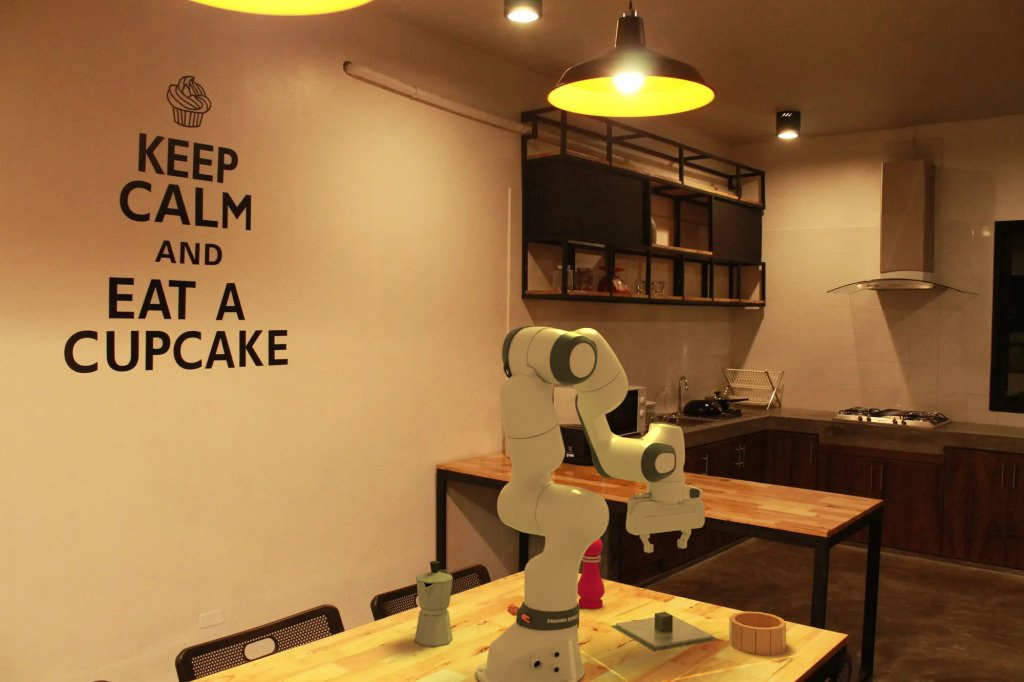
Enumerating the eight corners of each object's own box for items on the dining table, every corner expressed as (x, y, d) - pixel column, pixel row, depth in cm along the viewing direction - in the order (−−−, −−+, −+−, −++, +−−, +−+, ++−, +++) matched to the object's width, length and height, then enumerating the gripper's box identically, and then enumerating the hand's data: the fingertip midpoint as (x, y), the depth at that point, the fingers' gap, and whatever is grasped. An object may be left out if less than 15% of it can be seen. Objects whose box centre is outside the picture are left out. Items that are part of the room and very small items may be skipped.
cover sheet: (655, 649, 186) (655, 629, 186) (616, 626, 201) (616, 608, 201) (712, 638, 193) (712, 620, 193) (670, 618, 208) (671, 600, 208)
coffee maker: (444, 651, 184) (445, 570, 184) (406, 648, 186) (407, 567, 186) (462, 629, 199) (462, 553, 199) (426, 626, 201) (427, 551, 201)
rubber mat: (653, 653, 185) (653, 651, 185) (610, 628, 201) (610, 626, 201) (718, 641, 193) (718, 639, 193) (671, 618, 209) (671, 616, 209)
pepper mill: (582, 612, 213) (583, 533, 213) (572, 603, 220) (573, 527, 220) (608, 610, 215) (609, 532, 215) (598, 601, 222) (599, 526, 222)
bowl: (754, 659, 182) (755, 632, 182) (718, 641, 193) (719, 615, 193) (796, 651, 187) (797, 624, 187) (759, 634, 198) (759, 609, 198)
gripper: (635, 497, 190) (635, 558, 190) (708, 490, 198) (708, 548, 198) (620, 492, 195) (620, 551, 195) (692, 485, 204) (692, 542, 204)
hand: (665, 549), depth 197 cm, fingers open, 8 cm apart
